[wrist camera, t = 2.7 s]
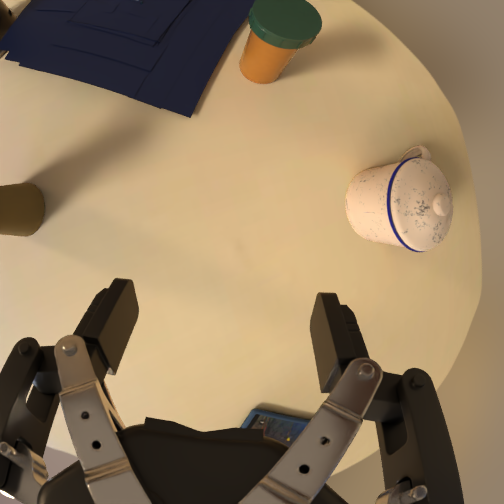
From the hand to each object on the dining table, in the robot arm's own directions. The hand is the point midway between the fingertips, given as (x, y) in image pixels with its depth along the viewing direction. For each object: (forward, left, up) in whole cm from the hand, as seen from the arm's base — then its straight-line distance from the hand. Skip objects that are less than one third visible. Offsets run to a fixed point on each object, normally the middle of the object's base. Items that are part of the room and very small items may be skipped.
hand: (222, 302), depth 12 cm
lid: (-3, +21, -7) cm, 22 cm away
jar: (-3, +21, -17) cm, 27 cm away
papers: (-22, +23, -17) cm, 36 cm away
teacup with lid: (+16, +14, -17) cm, 27 cm away
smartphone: (+20, -20, -17) cm, 33 cm away
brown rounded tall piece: (-21, -4, -17) cm, 28 cm away
